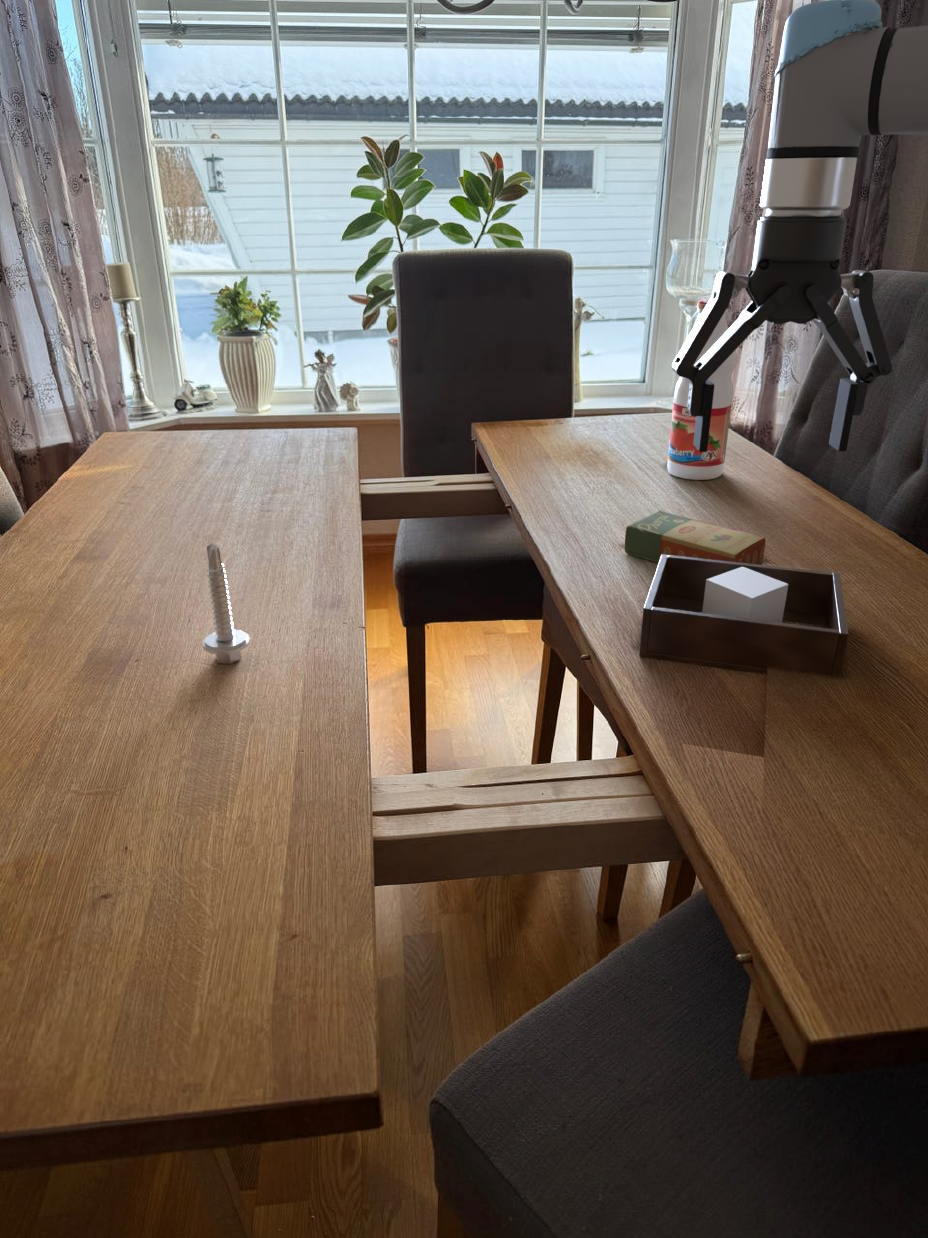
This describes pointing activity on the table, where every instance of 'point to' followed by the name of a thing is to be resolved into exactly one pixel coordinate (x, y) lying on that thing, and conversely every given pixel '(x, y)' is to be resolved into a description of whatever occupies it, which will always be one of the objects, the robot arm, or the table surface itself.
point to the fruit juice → (681, 449)
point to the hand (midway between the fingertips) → (768, 448)
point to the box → (744, 621)
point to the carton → (691, 540)
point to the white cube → (745, 595)
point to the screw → (222, 615)
